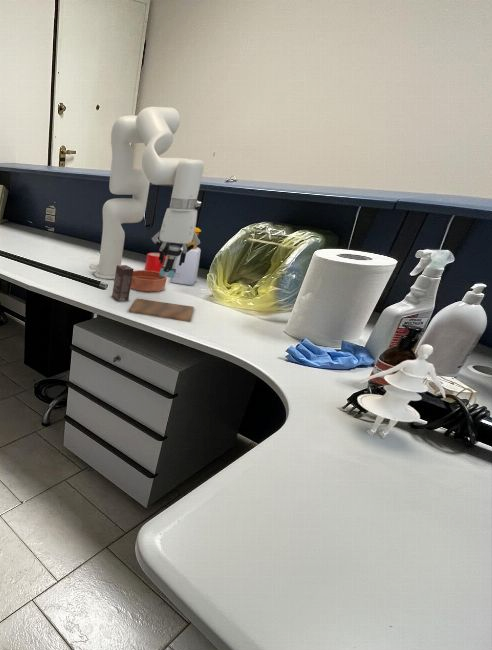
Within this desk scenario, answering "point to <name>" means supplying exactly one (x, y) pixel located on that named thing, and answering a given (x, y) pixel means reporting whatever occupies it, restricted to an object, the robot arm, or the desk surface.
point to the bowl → (147, 281)
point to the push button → (170, 261)
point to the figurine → (401, 391)
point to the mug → (154, 262)
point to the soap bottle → (188, 265)
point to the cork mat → (162, 309)
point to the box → (122, 282)
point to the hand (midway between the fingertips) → (170, 263)
